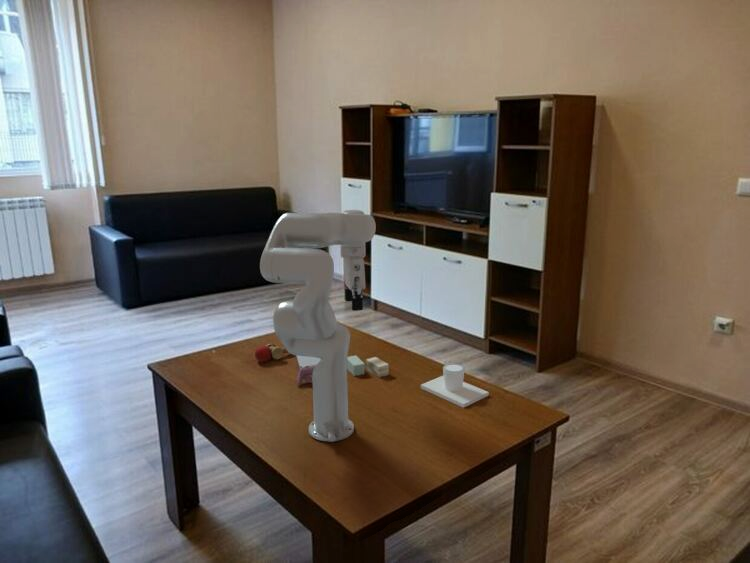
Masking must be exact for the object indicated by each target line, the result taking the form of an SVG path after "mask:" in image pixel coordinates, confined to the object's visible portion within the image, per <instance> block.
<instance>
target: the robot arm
mask: <svg viewBox="0 0 750 563" xmlns="http://www.w3.org/2000/svg"><path fill="white" fill-rule="evenodd" d="M376 226H377V225H376V221H375V219H374V217H373V215H371V214H366V213H365V212H364V211H362V210H359V209H348V210H347V209H346V210H343V211H342V212H320V213H319V212H318V213H313V212H312V213H309V212H286V213H283V214H282V215H281V216H280V217H279V218H277V220H276V222H275V224H274V225H273V228H272V230H271V232H270V233H269V237H268V239H267V241H266V243H265V247H264V249H263V251H262V254H261V257H260V261H259V270H260V275H261V276H262V277H263V278H264V280H266V282H267V281H268V282H271V283H274V284H275V283H277V284H293V285H294V284H295V285H305V286H304V287H302V288H301V290H300V289H299V291H298V292H297V294H296V295H295V297H294V299H293V300H285V301H282V302H279V303H278V305H277V306H276V307H275V310H274V311H273V316H272V317H273V318H272V326H273V330H274V333H275V335H276V336H277V338H278V340H279V341H280V343H281V344H282V346H283V348H284V347H285V349H286V350H287V351H288V352H289V353H288V354H291V355H293V356H296V355H297V356H308V357H316V358H320V359H321V361H320V362H319V363H318V364H317V365H316V366H315V368H314V370H313V373H312V374H311V378H312V381H311V382H312V401H313V402H312V403H313V407H312V408H313V420H312V421H311V423H309V426H308V433H309V436H311V437H312V438H313V439H315V440H318V441H322V442H338V441H341V440H345V439H347V438H349V437H350V436H351V435H352V434H353V433H354V431H355V430H354V429H355V427H354V426H355V425H354V423H353V421H352V420H350V419H349V407H348V406H349V402H348V401H349V394H348V388H349V387H348V369H347V359H348V357H349V349H350V344H351V334H350V330H349V329H348V328H347V327H346V325H343V324H341V323H338V322H337V318H336V316H335V313H334V311H333V308H332V306H331V304H330V302H329V298H330V295H331V291H332V287H333V281H334V275H335V264H334V259H333V257H332V256H331V255H330V253H328V251H325V250H322V249H321V248H326V247H330V246H338V245H339V246H340V257H341V258H343V278H344V281H343V282H344V284H345V301H346V302H351V310H352V311H353V312H354V311H355V312H357V311H362V310H364V308H363V306H364V303H363V297H364V296H363V290H365V289H366V288H367V287H366V272H365V269H366V268H365V260H364V258H365V257H366V243H368V242H370V241H371V240H373V238H374V236H375V234H376V230H377V228H376Z"/></svg>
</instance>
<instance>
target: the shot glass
mask: <svg viewBox="0 0 750 563" xmlns="http://www.w3.org/2000/svg"><path fill="white" fill-rule="evenodd" d="M442 370H443V371H442V372H443V373H442V374H443V375H444V388H445V389H446V390H447V391H451V392H458V391H461V390H462V386H463V382H464V378H465V371H466V367H465V366H463V365H461V364H458V363H447V364H445V365H444V366H443V367H442ZM443 375H442V376H443Z"/></svg>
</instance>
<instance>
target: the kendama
mask: <svg viewBox="0 0 750 563" xmlns="http://www.w3.org/2000/svg"><path fill="white" fill-rule="evenodd" d="M284 354H290V353H289V352H288V351H287V350H286V349H285V347H284V346H283V347H280V346H276V345H275V344H274V343H268V344H266V345H259V346H258V347H256V349H255V351H254V357H255V360H257V361H258V362H259V363H266V362H268V361H270V360H271V359H272V358H273V360H279V359H282V357H283V356H284Z"/></svg>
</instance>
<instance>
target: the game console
mask: <svg viewBox="0 0 750 563" xmlns="http://www.w3.org/2000/svg"><path fill="white" fill-rule="evenodd" d="M295 357H296V360H297V363H298V368H299V370H300V369H301V368H302V367H305V366H311V365H315V366H316V365H317V364H318V363H319V362H320V361H321V359H320V358H316V357H308V356H297V355H295Z"/></svg>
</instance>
